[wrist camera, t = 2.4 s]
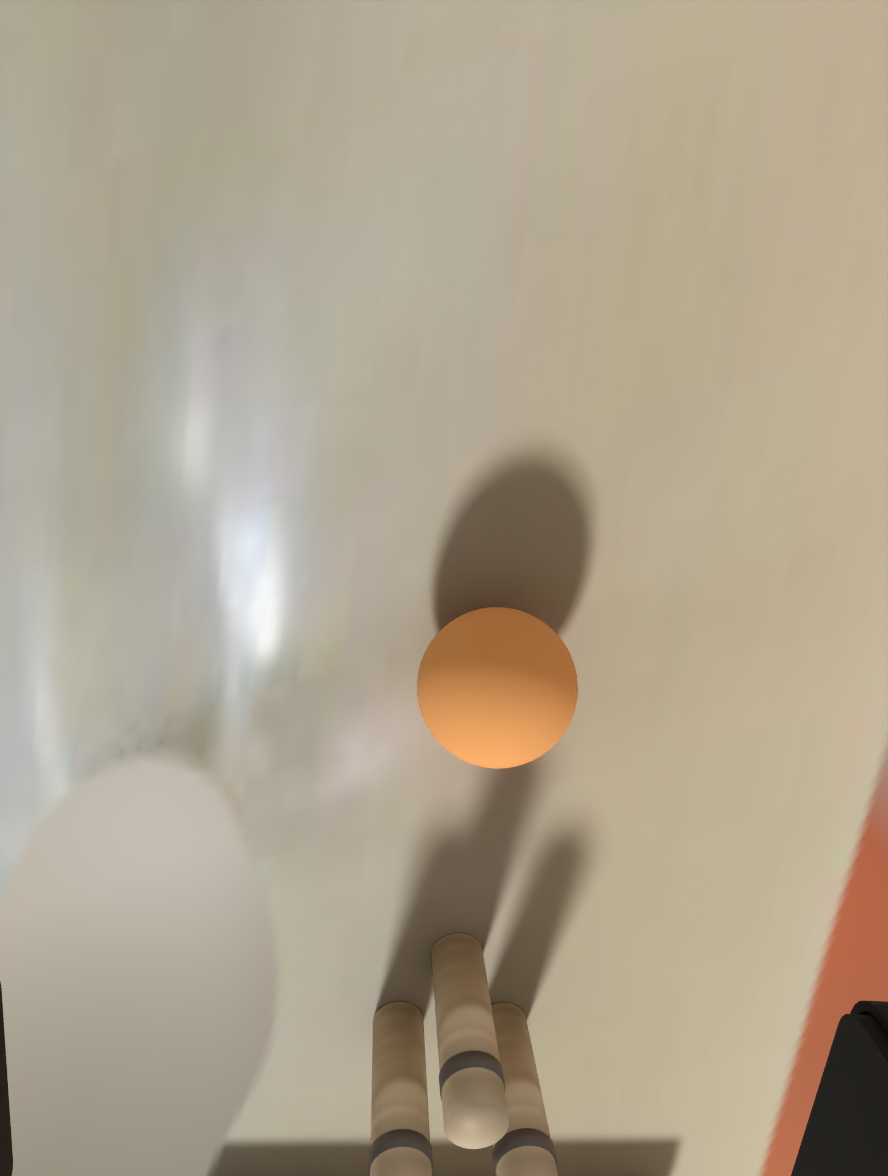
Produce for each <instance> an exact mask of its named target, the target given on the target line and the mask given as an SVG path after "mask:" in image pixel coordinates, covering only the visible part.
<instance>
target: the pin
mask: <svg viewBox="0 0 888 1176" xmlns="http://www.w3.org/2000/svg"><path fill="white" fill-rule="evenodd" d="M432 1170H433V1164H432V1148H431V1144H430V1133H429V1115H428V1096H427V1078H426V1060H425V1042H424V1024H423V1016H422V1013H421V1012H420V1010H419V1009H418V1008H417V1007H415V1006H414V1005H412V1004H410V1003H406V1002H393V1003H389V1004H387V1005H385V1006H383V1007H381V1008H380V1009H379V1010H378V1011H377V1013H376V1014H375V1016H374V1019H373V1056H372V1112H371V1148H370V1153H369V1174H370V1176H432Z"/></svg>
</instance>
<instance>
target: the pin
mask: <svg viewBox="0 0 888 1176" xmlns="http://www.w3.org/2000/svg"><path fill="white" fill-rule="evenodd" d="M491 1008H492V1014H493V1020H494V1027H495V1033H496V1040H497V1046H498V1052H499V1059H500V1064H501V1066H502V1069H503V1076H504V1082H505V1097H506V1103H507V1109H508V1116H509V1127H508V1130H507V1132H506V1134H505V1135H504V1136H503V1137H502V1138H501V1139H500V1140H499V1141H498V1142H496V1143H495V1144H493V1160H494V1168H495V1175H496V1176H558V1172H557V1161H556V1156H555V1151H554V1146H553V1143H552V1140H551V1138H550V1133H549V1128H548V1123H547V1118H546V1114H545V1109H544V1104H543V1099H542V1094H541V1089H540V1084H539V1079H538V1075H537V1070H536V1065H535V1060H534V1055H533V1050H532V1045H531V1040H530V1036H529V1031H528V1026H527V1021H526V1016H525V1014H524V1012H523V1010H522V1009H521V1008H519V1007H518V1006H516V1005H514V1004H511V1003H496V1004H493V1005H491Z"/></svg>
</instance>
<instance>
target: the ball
mask: <svg viewBox="0 0 888 1176" xmlns="http://www.w3.org/2000/svg"><path fill="white" fill-rule="evenodd" d="M577 693H578V686H577V674H576V670H575V666H574V663H573V660H572V658H571V655H570V653H569V651H568V649H567V647H566V645H565V644H564V643H563V641H562V640H561V639H560V637H559V636H558V635H557V634H556V633H555V632H554V631H553V630H552V629H551V628H550V627H549V626H548V625H547V624H545V623H544V622H543V621H541V620H540V619H538V618H536V617H534V616H532V615H531V614H528V613H526V612H523V611H520V610H516V609H512V608H504V607H489V608H482V609H478V610H474V611H471V612H468V613H466V614H463V615H461V616H459V617H458V618H456V619H454V620H453V621H451V622H450V623H449V624H447V625H446V626H445V627H444V628H443V629H442V630H441V631H439V632H438V634H437V635H436V636H435V637H434V638H433V640H432V641H431V643H430V644H429V646H428V648H427V650H426V652H425V654H424V656H423V658H422V661H421V664H420V668H419V673H418V681H417V694H418V702H419V706H420V710H421V713H422V716H423V718H424V721H425V723H426V725H427V727H428V728H429V730H430V731H431V733H432V735H433V736H434V737H435V739H436V740H437V741H438V742H439V743H440V744H441V745H442V746H443V747H444V748H445V749H447V750H448V751H449V752H450V753H452V754H453V755H454V756H456V757H457V758H459V759H461V760H463V761H465V762H468V763H471V764H474V765H477V766H481V767H486V768H510V767H516V766H519V765H523V764H526V763H528V762H531V761H533V760H535V759H537V758H538V757H540V756H542V755H543V754H544V753H546V752H547V751H548V750H550V749H551V748H552V747H553V746H554V745H555V744H556V743H557V742H558V740H559V739H560V738H561V737H562V735H563V734H564V732H565V731H566V729H567V728H568V726H569V724H570V722H571V720H572V717H573V714H574V711H575V707H576V702H577Z"/></svg>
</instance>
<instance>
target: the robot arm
mask: <svg viewBox="0 0 888 1176" xmlns="http://www.w3.org/2000/svg"><path fill="white" fill-rule="evenodd" d="M12 1169H13V1156H12V1140H11V1126H10V1112H9V1096H8V1082H7V1066H6V1051H5V1038H4V1021H3V1006H2V991H1V983H0V1176H11V1175H12ZM791 1176H888V1002H881V1001H859V1002H858V1003H856V1004H855V1005H854V1007H853V1009H852V1011H851V1013H850V1014H845V1015H844V1016H842V1018H841V1019H840V1021H839V1024H838V1027H837V1030H836V1034H835V1037H834V1040H833V1043H832V1046H831V1050H830V1053H829V1056H828V1059H827V1063H826V1066H825V1069H824V1072H823V1075H822V1078H821V1082H820V1085H819V1088H818V1091H817V1094H816V1098H815V1101H814V1104H813V1107H812V1110H811V1114H810V1117H809V1120H808V1123H807V1126H806V1130H805V1133H804V1136H803V1139H802V1142H801V1146H800V1149H799V1152H798V1156H797V1159H796V1162H795V1165H794V1168H793V1171H792V1174H791Z"/></svg>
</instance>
